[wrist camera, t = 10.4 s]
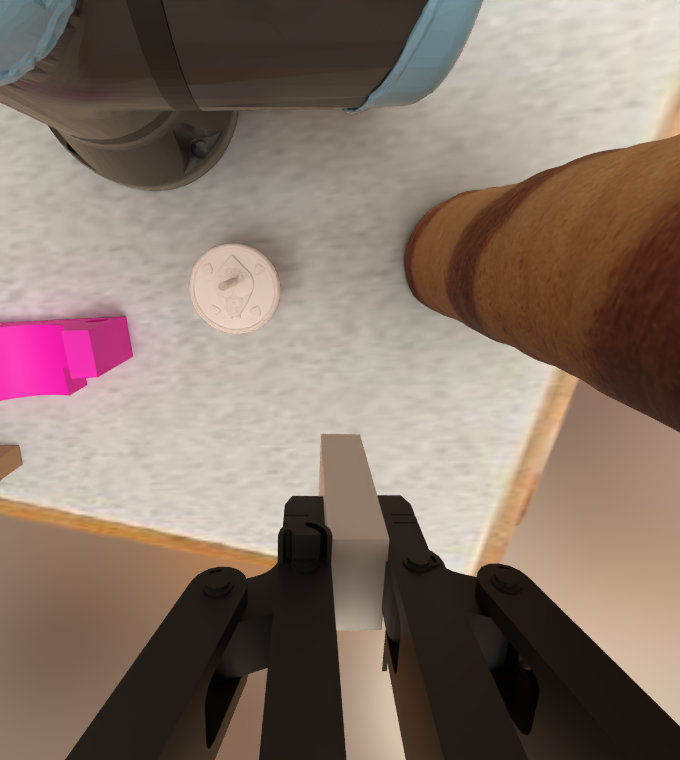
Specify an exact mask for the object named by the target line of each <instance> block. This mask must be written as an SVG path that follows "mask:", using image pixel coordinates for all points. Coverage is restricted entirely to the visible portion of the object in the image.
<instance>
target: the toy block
mask: <svg viewBox="0 0 680 760" xmlns="http://www.w3.org/2000/svg"><path fill="white" fill-rule="evenodd" d="M131 357H133V354H132V348H131V343H130V337H129V331H128V326H127V320H126V316H125V317H106V318H86V319H66V320H46V321H26V322H6V323H0V401H2V400H7V399H13V398H20V397H27V396H37V395H71V394H73V393H74V392H76V391H78V390H79V389H81V388H83V387H84V386H86V385H87V381H86V378H92V377H99V376H101V375H102V374H104V373H106V372H107V371H109V370H111V369H112V368H114V367H116V366H117V365H119V364H121V363H123V362H124V361H126V360H128V359H129V358H131Z"/></svg>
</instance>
